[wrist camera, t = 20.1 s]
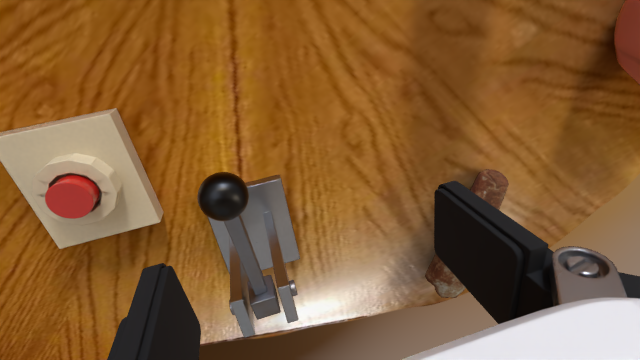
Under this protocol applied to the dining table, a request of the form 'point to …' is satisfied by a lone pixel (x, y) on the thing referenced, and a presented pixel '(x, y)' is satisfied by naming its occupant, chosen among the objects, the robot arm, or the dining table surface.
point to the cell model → (628, 38)
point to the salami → (492, 191)
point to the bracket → (261, 249)
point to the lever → (239, 235)
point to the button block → (82, 174)
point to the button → (72, 196)
